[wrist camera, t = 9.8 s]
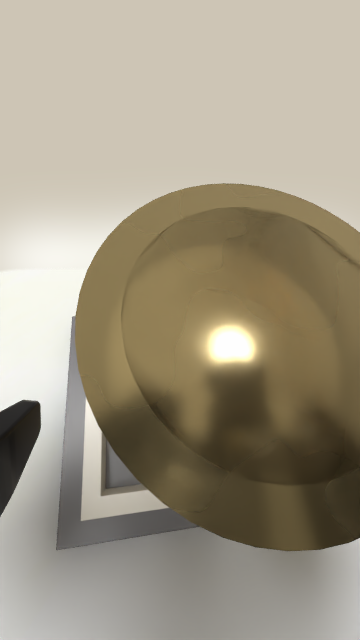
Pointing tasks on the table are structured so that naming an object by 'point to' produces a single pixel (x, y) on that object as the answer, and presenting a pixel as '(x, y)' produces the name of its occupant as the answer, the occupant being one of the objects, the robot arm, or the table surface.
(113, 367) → the brass fitting
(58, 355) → the table surface
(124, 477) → the socket plate
